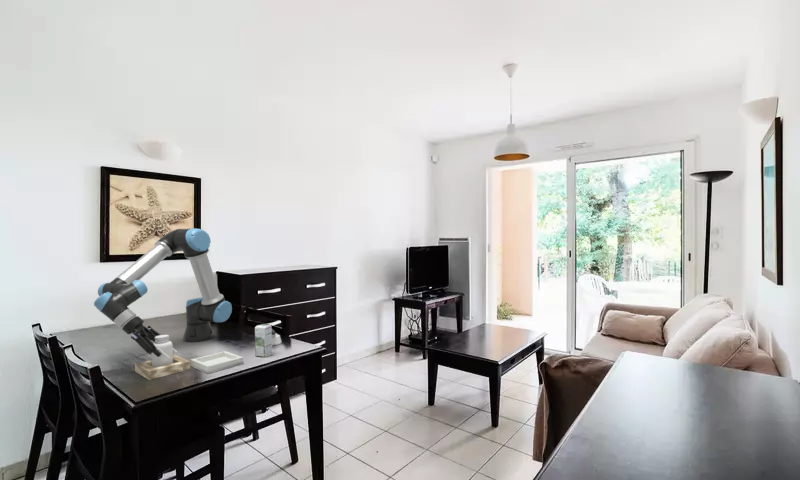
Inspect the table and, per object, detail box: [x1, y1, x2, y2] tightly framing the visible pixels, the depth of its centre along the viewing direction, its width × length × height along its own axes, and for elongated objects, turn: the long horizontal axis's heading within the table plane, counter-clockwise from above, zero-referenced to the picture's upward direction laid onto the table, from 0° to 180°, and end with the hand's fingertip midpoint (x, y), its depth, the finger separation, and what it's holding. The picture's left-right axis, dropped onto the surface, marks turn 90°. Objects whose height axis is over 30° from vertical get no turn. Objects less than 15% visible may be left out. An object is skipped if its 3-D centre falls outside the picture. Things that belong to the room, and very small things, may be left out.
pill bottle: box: [151, 334, 174, 368], centre depth 171 cm, size 8×8×15 cm
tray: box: [190, 350, 244, 375], centre depth 178 cm, size 16×16×3 cm
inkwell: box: [272, 328, 283, 346], centre depth 209 cm, size 9×18×10 cm, turn 14°
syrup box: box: [254, 324, 273, 358], centre depth 192 cm, size 6×6×14 cm
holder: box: [134, 354, 191, 381], centre depth 171 cm, size 16×16×4 cm
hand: (171, 357), depth 172 cm, fingers closed on pill bottle, 8 cm apart
